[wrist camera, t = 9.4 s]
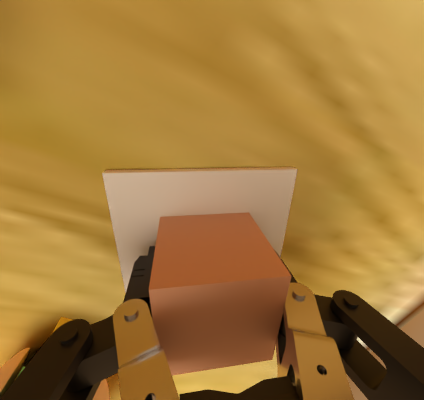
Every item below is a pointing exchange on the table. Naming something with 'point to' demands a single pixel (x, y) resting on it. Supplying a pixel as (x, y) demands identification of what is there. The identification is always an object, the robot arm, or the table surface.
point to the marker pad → (193, 202)
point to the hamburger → (8, 372)
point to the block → (216, 291)
